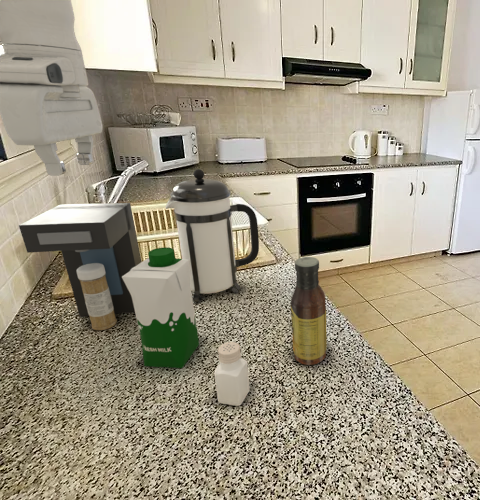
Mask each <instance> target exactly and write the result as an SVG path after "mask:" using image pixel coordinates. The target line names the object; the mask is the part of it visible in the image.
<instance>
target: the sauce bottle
mask: <svg viewBox="0 0 480 500" xmlns="http://www.w3.org/2000/svg"><path fill="white" fill-rule="evenodd" d="M319 269H320V261H319V259H318V258H316V257H313V256H303V257H298V258H297V259H296V260H295V261H294V270H295V272H296V274H295V275H296V282H295V283H296V285H295V287H294V291H293V293H292V296H291V299H290V316H291V317H290V319H291V320H290V321H291V338H292V340H291V341H292V352H293V354H294V355H293V356H294V359H295V360H296V362H298V363H299V364H300V365H304V366H305V365H306V366H314V365H318V364H319V363H321V362H323V360H325V358H326V356H327V348H328V344H327V343H328V341H327V340H328V339H327V337H328V336H327V335H328V334H327V333H328V332H327V306H326V295H325V291H324V289H323V288H322V286H321V285H319V284H320V280H319Z"/></svg>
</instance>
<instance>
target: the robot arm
mask: <svg viewBox="0 0 480 500" xmlns="http://www.w3.org/2000/svg"><path fill="white" fill-rule="evenodd" d="M75 20H76V19H75V13H74V8H73V3H72V0H0V48H2V50H3V52H4V53H2V54H1V55H0V118H1V121H2V124H3V127H4V130H5V132H6V134H7V135H8V137H9V139H10V141H12V142H13V143H14V144H15V145H17V146H33V148H34V151H35V154H36V155H37V156H38V158H39V159H40V160H41V161H42V162H43V164H44V167H45V170H46V173H47V175H48V176H51V177H52V176H53V177H57V176H62V175H64V174H66V172H67V169H66V165H65V162H64V161H61V159H60V157H59V155H58V153H57V151H58V146H57V143H62V142H64V141H65V142H66V141H71V140H75V143H77V153H75V156H76V159H77V163H78V165H80V166H89V165H92V164H93V163H94V162H95V161H94V156H93V150H94V139H93V138H94V137H93V136H95V135H99V134H102V133H103V129H104V128H103V127H104V126H103V122H102V116H101V113H100V109H99V105H98V102H97V98H96V96H95V93H94V91H93V90H92V89H91V88H90V87H88V86H89V85H90V84H89V80H88V79H89V78H88V74H87V70H86V65H85V61H84V55H83V51H82V47H81V44H80V43H79V42H78V39H77V36H76V32H75Z"/></svg>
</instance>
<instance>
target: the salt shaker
mask: <svg viewBox="0 0 480 500" xmlns="http://www.w3.org/2000/svg"><path fill="white" fill-rule="evenodd" d="M241 353H242V352H241V346H240V344H239V343H238V342H235V341H227V342H224V343H222V344H221V345H220V346H218V349H217V355H218V362H219V363H218V365H217V366H216V367H215V370H214V374H213V375H214V381H215V382H214V383H215V389H216V395H217V401H218V403H220V404H223V405H230V406H236V407H239V406H241V405H242V404H243V403H244V401H245V399H246V397H247V396H248V394H249V392H250V389H251V387H250V377H249V367H248V361H247V360H246V359H244V358H242V354H241Z"/></svg>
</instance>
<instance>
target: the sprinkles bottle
mask: <svg viewBox="0 0 480 500" xmlns="http://www.w3.org/2000/svg"><path fill="white" fill-rule="evenodd" d="M76 271H77V276H78V279H79V280H80V282H81V286H82V290H83V294H84V298H85V303H86V307H87V310H88V314H89V316H88V317H89V319H90V323H91V329H92V330H95V331H105V330H109V329H111V328H112V327H114V326H115V325H116V324H117V323H118V320H117V318H116V314H114V308H113V303H112V299H111V295H110V291H109V287H108V284H107V281H106V277H105V275H106V274H105V273H106V272H105V268H104V265H103V264H100V263H91V264H86V265H83V266H81V267H79V268H78V269H77V270H76Z"/></svg>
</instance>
